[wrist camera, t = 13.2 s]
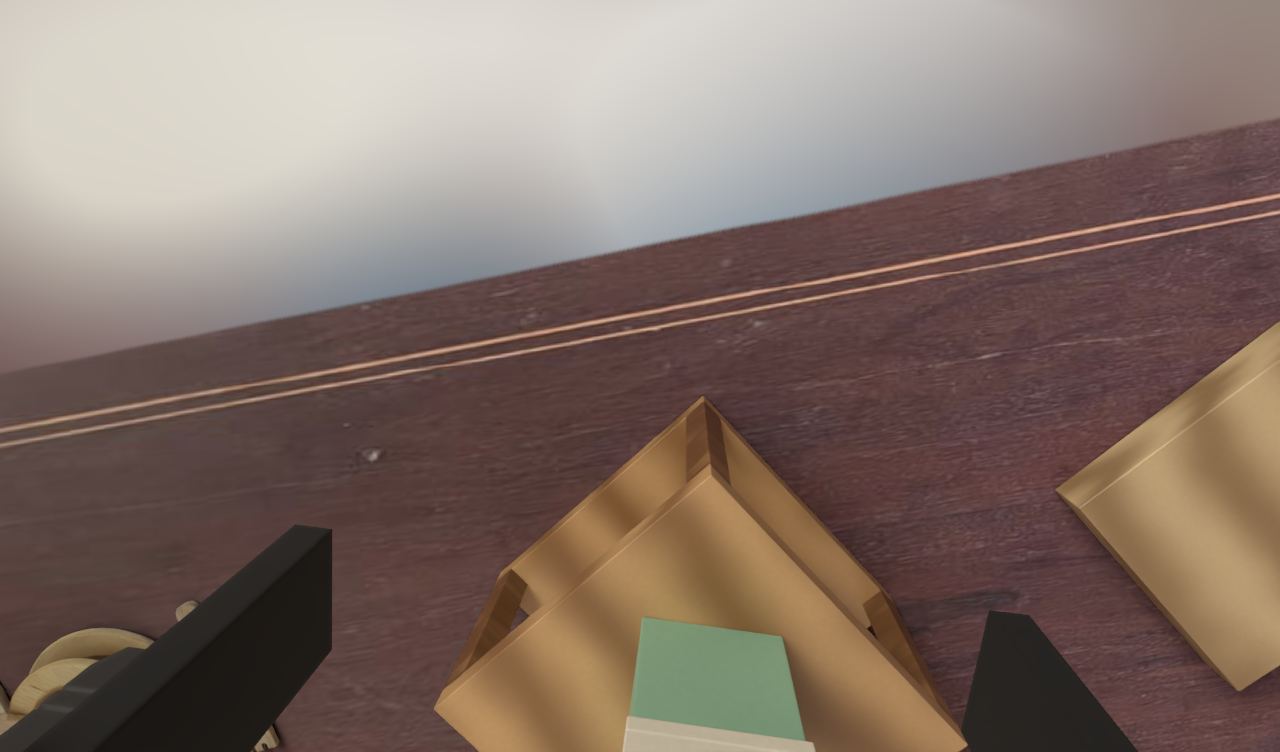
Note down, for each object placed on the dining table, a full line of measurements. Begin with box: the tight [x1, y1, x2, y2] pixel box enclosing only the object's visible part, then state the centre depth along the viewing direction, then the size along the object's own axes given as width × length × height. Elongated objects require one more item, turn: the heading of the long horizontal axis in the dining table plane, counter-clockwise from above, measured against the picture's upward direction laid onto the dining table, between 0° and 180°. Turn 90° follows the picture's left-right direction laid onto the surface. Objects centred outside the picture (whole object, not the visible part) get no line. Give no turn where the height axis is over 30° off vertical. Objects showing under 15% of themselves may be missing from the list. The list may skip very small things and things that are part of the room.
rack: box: [434, 396, 968, 752], centre depth 43 cm, size 18×18×14 cm
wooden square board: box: [1055, 321, 1280, 691], centre depth 45 cm, size 16×16×3 cm
